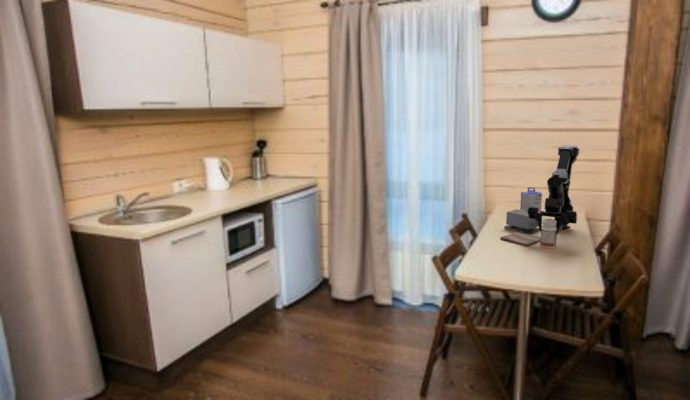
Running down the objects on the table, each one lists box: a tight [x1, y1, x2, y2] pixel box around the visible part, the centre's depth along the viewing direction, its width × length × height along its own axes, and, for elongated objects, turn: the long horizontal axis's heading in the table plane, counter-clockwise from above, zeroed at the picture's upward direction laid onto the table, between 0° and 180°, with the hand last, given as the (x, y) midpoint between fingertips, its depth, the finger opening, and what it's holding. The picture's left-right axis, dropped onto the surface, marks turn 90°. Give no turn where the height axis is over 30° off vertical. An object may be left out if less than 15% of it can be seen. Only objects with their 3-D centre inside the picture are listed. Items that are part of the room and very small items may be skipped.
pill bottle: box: [539, 218, 558, 249], centre depth 191 cm, size 6×6×11 cm
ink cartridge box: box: [519, 186, 543, 211], centre depth 240 cm, size 10×6×14 cm, turn 78°
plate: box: [500, 231, 541, 247], centre depth 202 cm, size 13×13×1 cm
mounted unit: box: [503, 209, 540, 235], centre depth 216 cm, size 9×13×8 cm
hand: (548, 232), depth 190 cm, fingers closed on pill bottle, 6 cm apart
